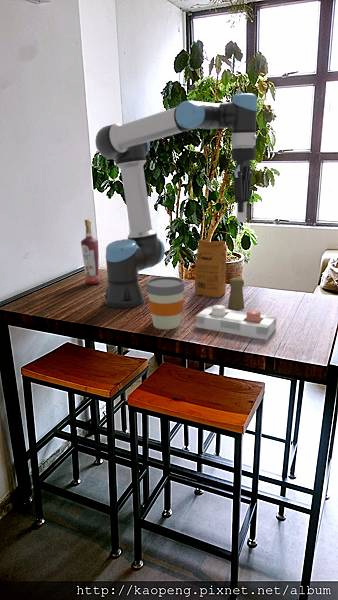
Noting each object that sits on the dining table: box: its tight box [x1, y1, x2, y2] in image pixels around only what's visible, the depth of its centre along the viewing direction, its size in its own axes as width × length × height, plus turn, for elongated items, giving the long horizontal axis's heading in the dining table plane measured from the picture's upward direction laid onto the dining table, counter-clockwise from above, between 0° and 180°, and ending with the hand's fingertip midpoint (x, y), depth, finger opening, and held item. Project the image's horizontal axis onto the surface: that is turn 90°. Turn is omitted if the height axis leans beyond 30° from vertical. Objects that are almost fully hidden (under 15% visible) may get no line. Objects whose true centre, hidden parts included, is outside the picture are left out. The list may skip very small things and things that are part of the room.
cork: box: [227, 277, 245, 311], centre depth 165 cm, size 6×6×11 cm
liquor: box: [80, 218, 101, 286], centre depth 196 cm, size 7×7×28 cm
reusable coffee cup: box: [146, 276, 186, 330], centre depth 150 cm, size 13×13×15 cm
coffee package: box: [194, 238, 227, 299], centre depth 179 cm, size 10×12×22 cm
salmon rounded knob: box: [246, 309, 262, 324], centre depth 144 cm, size 4×4×4 cm
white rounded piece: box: [211, 304, 226, 318], centre depth 150 cm, size 4×4×4 cm
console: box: [195, 305, 277, 340], centre depth 148 cm, size 24×10×4 cm, turn 61°
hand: (241, 221), depth 151 cm, fingers closed
